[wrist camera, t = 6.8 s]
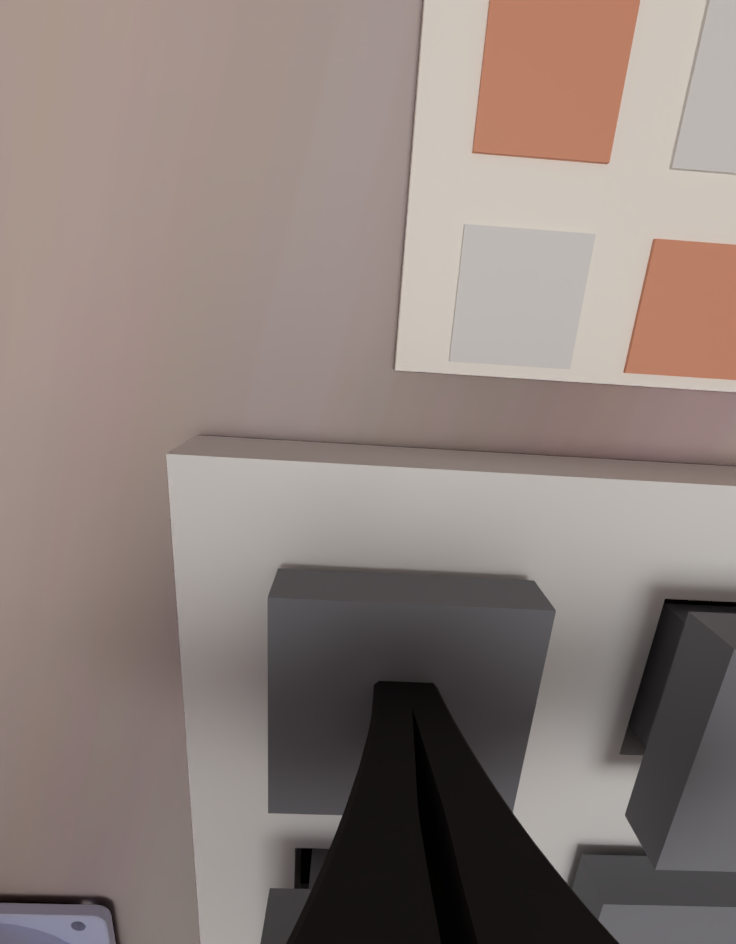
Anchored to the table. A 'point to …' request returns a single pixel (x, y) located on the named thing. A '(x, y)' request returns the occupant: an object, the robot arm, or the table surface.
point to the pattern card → (573, 193)
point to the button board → (434, 554)
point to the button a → (288, 905)
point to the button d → (688, 742)
